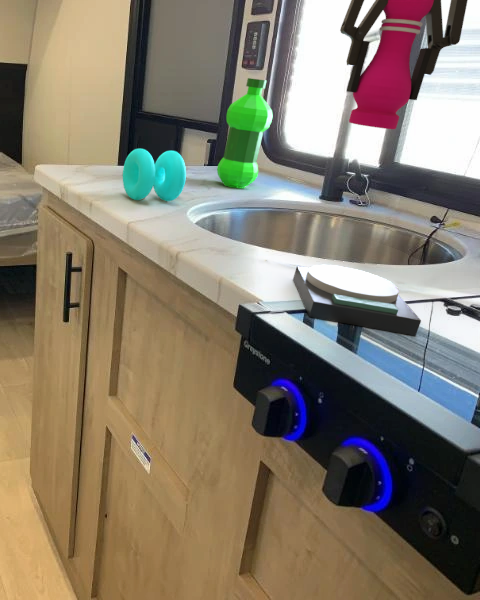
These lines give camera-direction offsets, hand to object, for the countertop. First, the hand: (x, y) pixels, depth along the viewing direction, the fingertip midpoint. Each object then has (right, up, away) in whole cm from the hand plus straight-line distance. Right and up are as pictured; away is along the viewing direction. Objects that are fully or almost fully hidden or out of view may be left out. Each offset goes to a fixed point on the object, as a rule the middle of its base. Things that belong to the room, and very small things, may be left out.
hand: (380, 95), depth 83 cm
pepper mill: (-1, -4, +2) cm, 4 cm away
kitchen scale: (-8, -29, -7) cm, 31 cm away
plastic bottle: (-4, 0, +65) cm, 65 cm away
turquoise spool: (-28, -8, +38) cm, 48 cm away
